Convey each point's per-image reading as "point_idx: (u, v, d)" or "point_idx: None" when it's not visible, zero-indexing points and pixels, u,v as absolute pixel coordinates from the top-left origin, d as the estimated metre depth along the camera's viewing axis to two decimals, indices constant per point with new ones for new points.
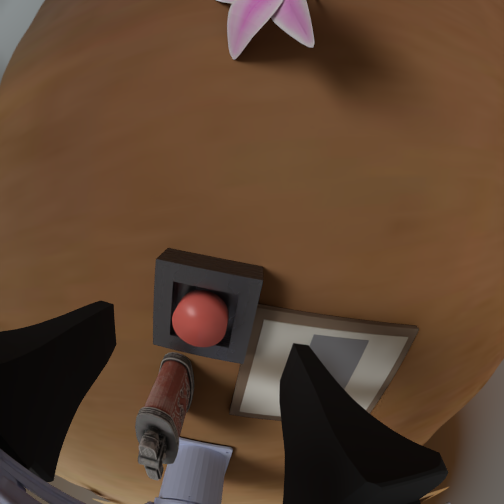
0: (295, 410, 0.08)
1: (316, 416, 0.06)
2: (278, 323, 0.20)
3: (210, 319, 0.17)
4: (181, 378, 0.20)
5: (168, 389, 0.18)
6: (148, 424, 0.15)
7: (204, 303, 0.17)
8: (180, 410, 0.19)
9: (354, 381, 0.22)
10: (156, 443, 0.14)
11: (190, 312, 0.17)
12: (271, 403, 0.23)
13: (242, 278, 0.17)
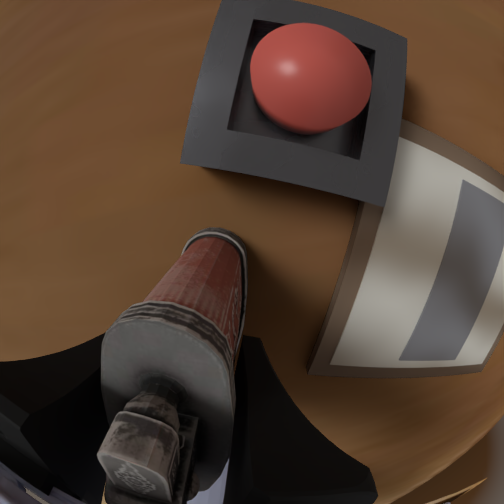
0: (237, 403, 0.08)
1: (245, 410, 0.06)
2: (418, 149, 0.10)
3: (339, 60, 0.06)
4: (234, 265, 0.09)
5: (209, 272, 0.07)
6: (141, 375, 0.05)
7: (327, 29, 0.06)
8: (234, 345, 0.08)
9: (493, 287, 0.11)
10: (172, 444, 0.03)
11: (298, 42, 0.06)
12: (389, 338, 0.12)
13: (376, 29, 0.07)
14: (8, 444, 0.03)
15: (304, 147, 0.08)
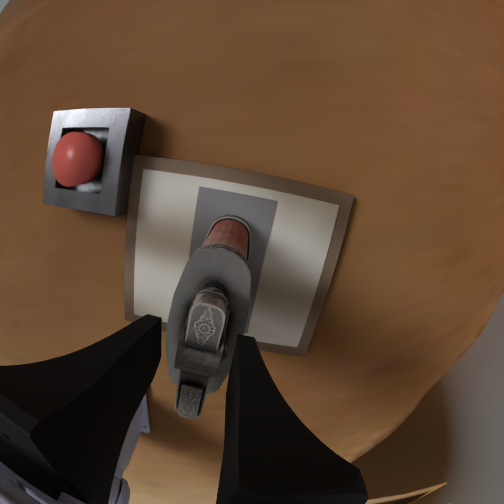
0: (231, 402, 0.07)
1: (236, 408, 0.06)
2: (159, 173, 0.17)
3: (78, 149, 0.14)
4: (246, 237, 0.15)
5: (236, 237, 0.13)
6: (204, 281, 0.11)
7: (75, 133, 0.13)
8: None
9: (271, 272, 0.19)
10: (226, 305, 0.09)
11: (65, 145, 0.13)
12: (166, 301, 0.19)
13: (114, 110, 0.14)
14: (14, 449, 0.03)
15: (79, 192, 0.15)
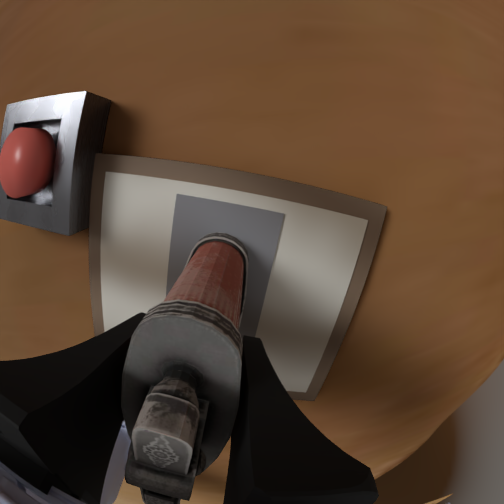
0: None
1: (245, 410, 0.06)
2: (125, 177, 0.12)
3: (24, 150, 0.09)
4: (240, 270, 0.10)
5: (222, 276, 0.08)
6: (165, 363, 0.06)
7: (21, 129, 0.08)
8: None
9: (275, 308, 0.14)
10: (196, 420, 0.05)
11: (11, 145, 0.09)
12: None
13: (68, 96, 0.09)
14: (7, 443, 0.03)
15: (30, 204, 0.11)
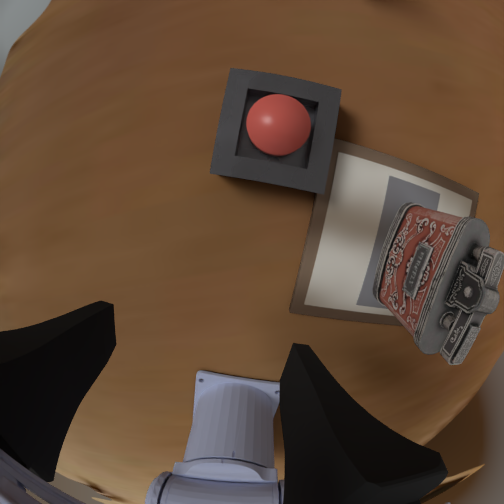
0: (295, 410, 0.08)
1: (316, 416, 0.06)
2: (353, 158, 0.17)
3: (293, 115, 0.14)
4: None
5: None
6: (470, 244, 0.11)
7: (287, 97, 0.13)
8: None
9: None
10: None
11: (271, 107, 0.14)
12: (345, 286, 0.19)
13: (321, 87, 0.14)
14: None
15: (276, 163, 0.16)
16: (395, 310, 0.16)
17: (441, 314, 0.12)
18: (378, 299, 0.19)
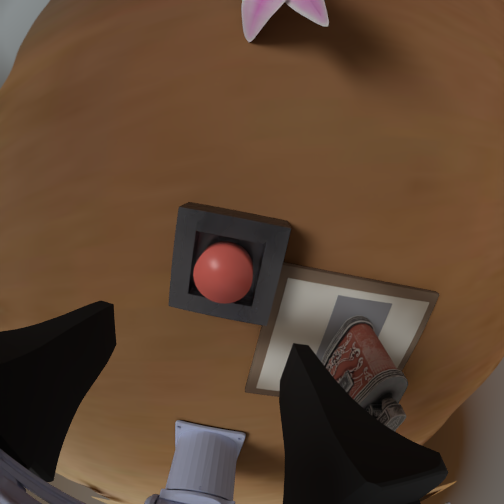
0: (295, 410, 0.08)
1: (316, 416, 0.06)
2: (303, 282, 0.20)
3: (235, 269, 0.16)
4: None
5: (384, 350, 0.16)
6: (381, 393, 0.13)
7: (230, 251, 0.16)
8: None
9: None
10: (401, 409, 0.12)
11: (214, 261, 0.16)
12: None
13: (269, 226, 0.17)
14: None
15: None
16: None
17: None
18: None
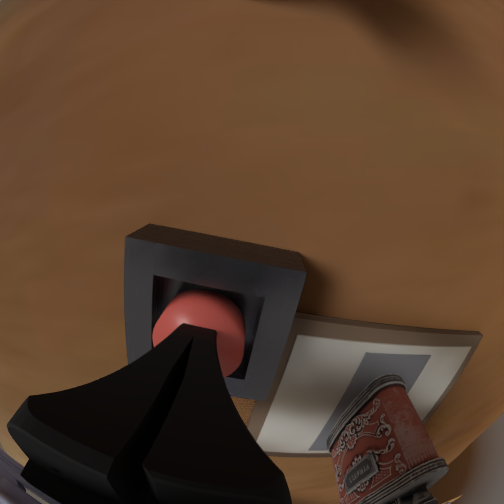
0: None
1: None
2: (318, 339, 0.13)
3: None
4: None
5: (422, 427, 0.09)
6: (415, 486, 0.07)
7: (206, 312, 0.09)
8: None
9: None
10: (436, 503, 0.05)
11: None
12: (296, 440, 0.16)
13: (271, 268, 0.10)
14: (63, 480, 0.03)
15: None
16: (337, 480, 0.12)
17: None
18: (330, 452, 0.15)
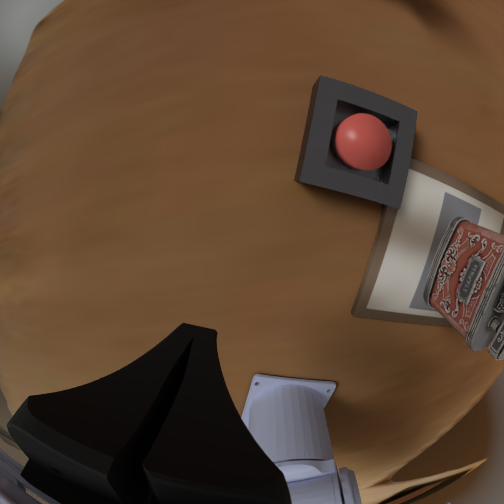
0: None
1: None
2: (418, 175, 0.17)
3: (378, 135, 0.14)
4: None
5: None
6: None
7: (373, 117, 0.14)
8: None
9: None
10: None
11: (359, 125, 0.14)
12: (402, 291, 0.19)
13: (400, 106, 0.14)
14: (63, 481, 0.03)
15: (362, 177, 0.15)
16: (447, 313, 0.16)
17: (490, 318, 0.12)
18: (428, 302, 0.19)
